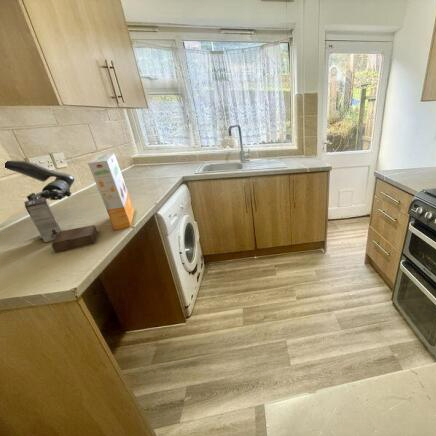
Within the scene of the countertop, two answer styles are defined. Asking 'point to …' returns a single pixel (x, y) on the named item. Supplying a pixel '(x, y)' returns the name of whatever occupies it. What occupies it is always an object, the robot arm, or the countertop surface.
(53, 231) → the coffee box
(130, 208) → the cereal box
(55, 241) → the block
